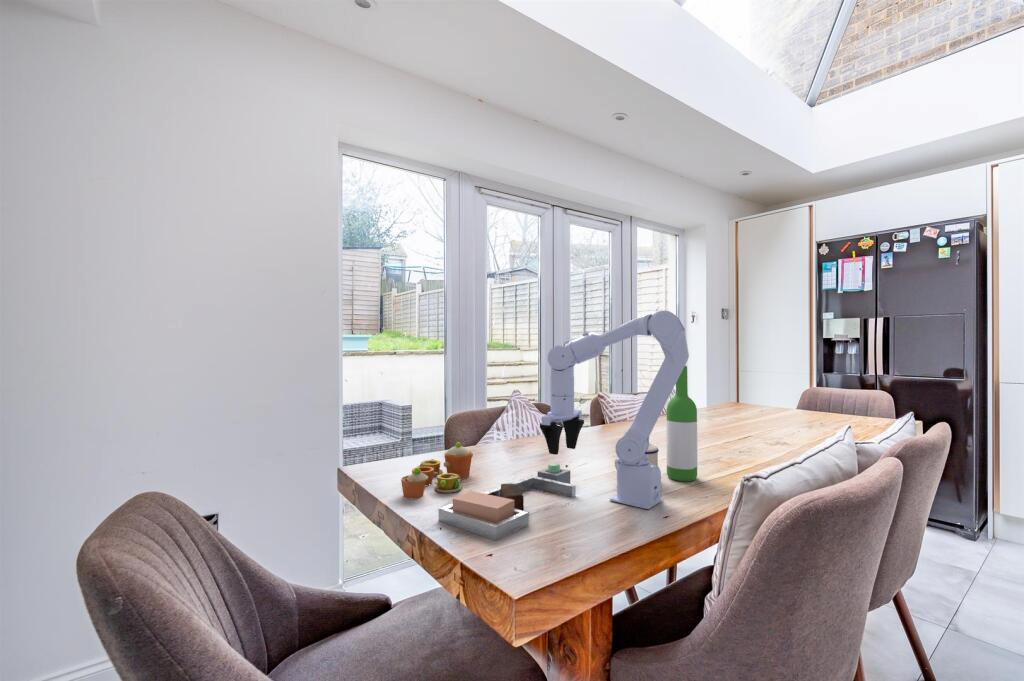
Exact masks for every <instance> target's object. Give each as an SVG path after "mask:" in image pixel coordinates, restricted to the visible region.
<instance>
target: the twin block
mask: <svg viewBox="0 0 1024 681" xmlns="http://www.w3.org/2000/svg"><path fill="white" fill-rule="evenodd" d="M452 503H453V510H455V511H458V512H461V513H464V514H467V515H470V516H474V517H477V518H480V519H483V520H486V521H489V522H492V523H498V522H500V521H502V520H505V519H507V518H509V517H511V516H514V500H512V499H507V498H502V497H498V496H493V495H488V494H483V492H479V491H472V490H470V491H467V492H465V493H462V494H460V495H458V496H455V497H453V498H452Z"/></svg>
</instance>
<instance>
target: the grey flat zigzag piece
mask: <svg viewBox="0 0 1024 681" xmlns="http://www.w3.org/2000/svg"><path fill="white" fill-rule="evenodd" d="M508 484H516V485H518V487H519V488H520V490H521V492H522V493H523V491H524V492H527V491H528V489H529V490H531V489H536V488H537V489H538V490H540V489H541V491H544V490H545V492H548V491H549V492H550V493H553V494H558V495H561V496H566V497H569V498H573V496H574V497H575V495H576V487H577V486H576V484H571V483H570V484H568V483H564V482H559V481H555V480H550V479H546V478H541V477H538V475H536V476H535V475H530V476H527V477H524V478H521V479H518V480H516V481H512V482H509V483H508ZM500 489H501V486H498V487H496V488H495V487H494V488H492V489H489V490H486V491H483V492H482V493H483V494H488V495H493V496H498V497H500ZM537 489H536V490H537ZM549 492H548V493H549ZM529 515H530V514H529V512H528V511H525V510H524V511H522V510H518V509H515V508H514V516H511V517H509V518H507V519H505V520H502V521H500V522H498V523H492V522H489V521H486V520H483V519H480V518H477V517H474V516H470V515H467V514H464V513H461V512H458V511H455V510H453V502H452V503H449V504H447V505H444V506H441V507H439V508H438V521H439V522H442V523H445V524H448V525H451V526H453V527H456V528H460V529H462V530H465V531H467V532H470V533H474V534H476V535H478V536H482V537H483V538H484V537H485V538H486V539H487V538H488V539H490V540H494V542H496V541H499V540H500V539H503V538H504V537H507V536H508V535H510V534H514V533H516V532H517V531H519V530H521V529H523V528H526V527H527V526H529V524H530V522H529V521H530V520H529V519H530V518H529V517H530V516H529Z"/></svg>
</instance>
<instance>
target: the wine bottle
mask: <svg viewBox="0 0 1024 681" xmlns="http://www.w3.org/2000/svg"><path fill="white" fill-rule="evenodd" d="M688 392H689V391H688V366H687V365H685V366H684V368H683V370H682V372H681V374H680V376H679V378H678V380H677V382H676V384H675V395H674V397H671V399H670V400H669V401H668V403H667V405H666V475H667V477H668V479H669V478H670V479H671V480H674V481H678V482H692V481H695V480H697V477H698V408H697V405H696V403H695V401H694V400H693V399H692V398H690V397H689V393H688Z"/></svg>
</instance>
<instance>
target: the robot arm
mask: <svg viewBox="0 0 1024 681" xmlns="http://www.w3.org/2000/svg"><path fill="white" fill-rule="evenodd" d="M635 336H645V337H646V336H649V337H651V336H653V338H655V340H656V342H658V343H659V346H660V347H661V350H662V353H663V355H664V358H663V361H662V363H661V365H660V366H659V369H658V370H657V373H656V375H655V377H654V379H653V381H652V383H651V385H650V386H649V389H648V391H647V393H646V395H645V397H644V399H643V401H642V403H641V405H640V406H639V409H638V411H637V413H636V415H635V417H634V419H633V421H632V422H631V424H630V426H629V428H628V429H627V431H626V432H625V433H624V434H623V436H621V437H620V438H619V439H618V440H617V441H616V444H615V454H616V455H617V456H616V458H617V457H618V458H617V470H616V495H613V496H611V497H610V498H609V501H610V502H615V503H618V504H624V505H628V506H632V507H637V508H641V509H643V510H644V509H645V510H649V509H651V508H653V507H654V506H656V505H657V504H659V503H661V502H662V501H663V498H662V473H661V472H662V471H661V469H660V467H659V465H658V466H655V465H652V464H650V463H649V459H648V457H647V456H646V455H645V452H646V451H647V449H648V447H649V443H650V436H651V434H652V432H653V430H654V428H655V425H656V424H657V422H658V419H659V417H660V415H661V413H662V411H663V410H664V408H665V405H666V404H667V402H668V399H669V397H670V395H671V394H672V392H673V390H674V388H675V387H676V382H677V380H678V378H679V376H680V374H681V372H682V370H683V368H684V366H686V364H687V362H688V360H689V357H690V355H689V354H690V352H689V348H688V343H687V342H688V341H687V336H686V329H685V326H684V325H683V324H682V321H681V320H680V318H679V317H678V316H677V315H676V314H675V313H673V312H671V311H670V310H663V309H662V310H659V311H656V312H654V313H653V314H652V313H650V314H645V315H643V316H639V317H637V318H634V319H632V320H629V321H627V322H626V323H623V324H621V325H619V326H617V327H614V328H612V329H610V330H608V331H606V332H604V333H601V334H598V333H596V332H593V331H592V332H589V331H585V332H584V333H582V336H581V337H578V338H576V339H573V340H571V341H570V340H566V341H564V345H559V344H558V345H555V346H554V347H553V348H551V349H550V350H549V352H548V354H547V362H548V365H549V366H550V411H547V414H546V415H542V416H541V423H539V428H540V430H541V431H542V434H543V436H544V439H545V442H546V444H547V445H546V446H547V450H548V454H551V455H554V456H555V455H558V454H559V450H560V440H561V435H562V431H563V429H564V433H565V434H564V435H565V444H566V448H567V449H570V450H575V449H576V447H577V443H578V439H579V435H580V432H581V430H582V428H583V426H584V425H585V419H582V416H583V414H582V413H583V412H582V411H583V410H581V409H575V374H574V371H575V370H574V366H575V365H576V364H577V365H579V364H581V363H584V362H587V361H589V360H591V359H594V358H597V357H599V356H602V355H603V354H604V352H605V351H604V350H605V348H606V347H609V346H612V345H615V344H618V343H619V342H623V341H625V340H628V339H631V338H633V337H635ZM558 423H561V424H562V425H563V426H562V425H558Z"/></svg>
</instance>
